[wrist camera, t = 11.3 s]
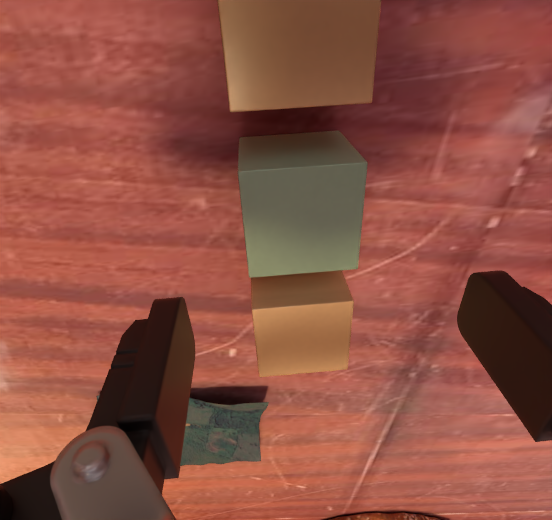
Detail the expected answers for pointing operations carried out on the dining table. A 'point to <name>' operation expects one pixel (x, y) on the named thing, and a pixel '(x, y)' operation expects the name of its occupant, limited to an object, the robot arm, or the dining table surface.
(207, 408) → the terrain model
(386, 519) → the bread slice
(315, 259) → the sage block
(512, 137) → the dining table surface
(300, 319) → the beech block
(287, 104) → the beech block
